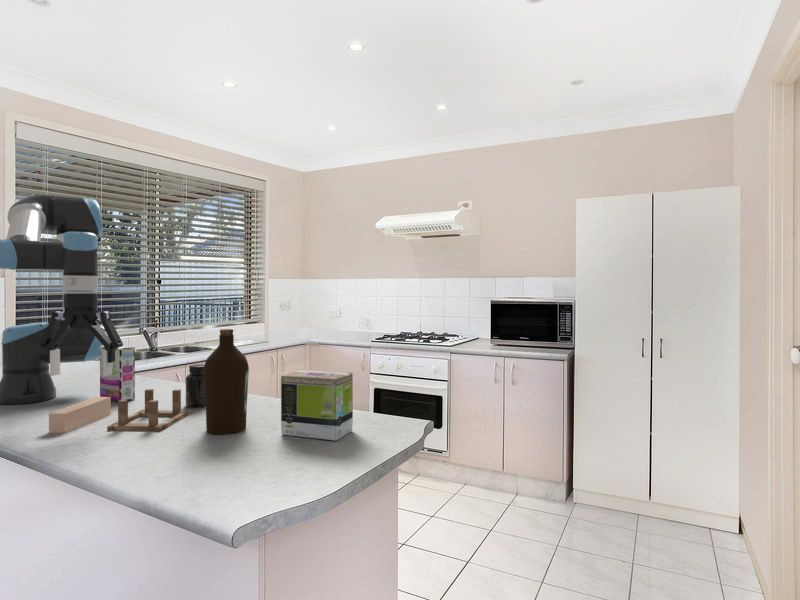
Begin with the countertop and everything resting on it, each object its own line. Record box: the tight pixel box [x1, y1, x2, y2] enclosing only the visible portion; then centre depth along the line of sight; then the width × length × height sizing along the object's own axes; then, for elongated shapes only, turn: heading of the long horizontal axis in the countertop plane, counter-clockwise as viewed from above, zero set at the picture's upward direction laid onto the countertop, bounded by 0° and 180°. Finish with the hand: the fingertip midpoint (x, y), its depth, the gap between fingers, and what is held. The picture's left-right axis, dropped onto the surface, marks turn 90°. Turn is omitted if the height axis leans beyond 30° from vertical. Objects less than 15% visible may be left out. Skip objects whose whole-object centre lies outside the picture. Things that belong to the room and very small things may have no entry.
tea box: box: [280, 369, 354, 442], centre depth 125 cm, size 15×10×15 cm, turn 71°
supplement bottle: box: [185, 363, 206, 409], centre depth 151 cm, size 7×7×12 cm
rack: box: [106, 388, 191, 432], centre depth 133 cm, size 17×13×7 cm
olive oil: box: [204, 328, 250, 435], centre depth 127 cm, size 11×11×25 cm
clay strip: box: [48, 396, 112, 434], centre depth 131 cm, size 18×4×5 cm, turn 178°
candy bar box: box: [99, 345, 136, 403], centre depth 158 cm, size 11×5×16 cm, turn 61°
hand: (81, 375), depth 131 cm, fingers open, 13 cm apart
